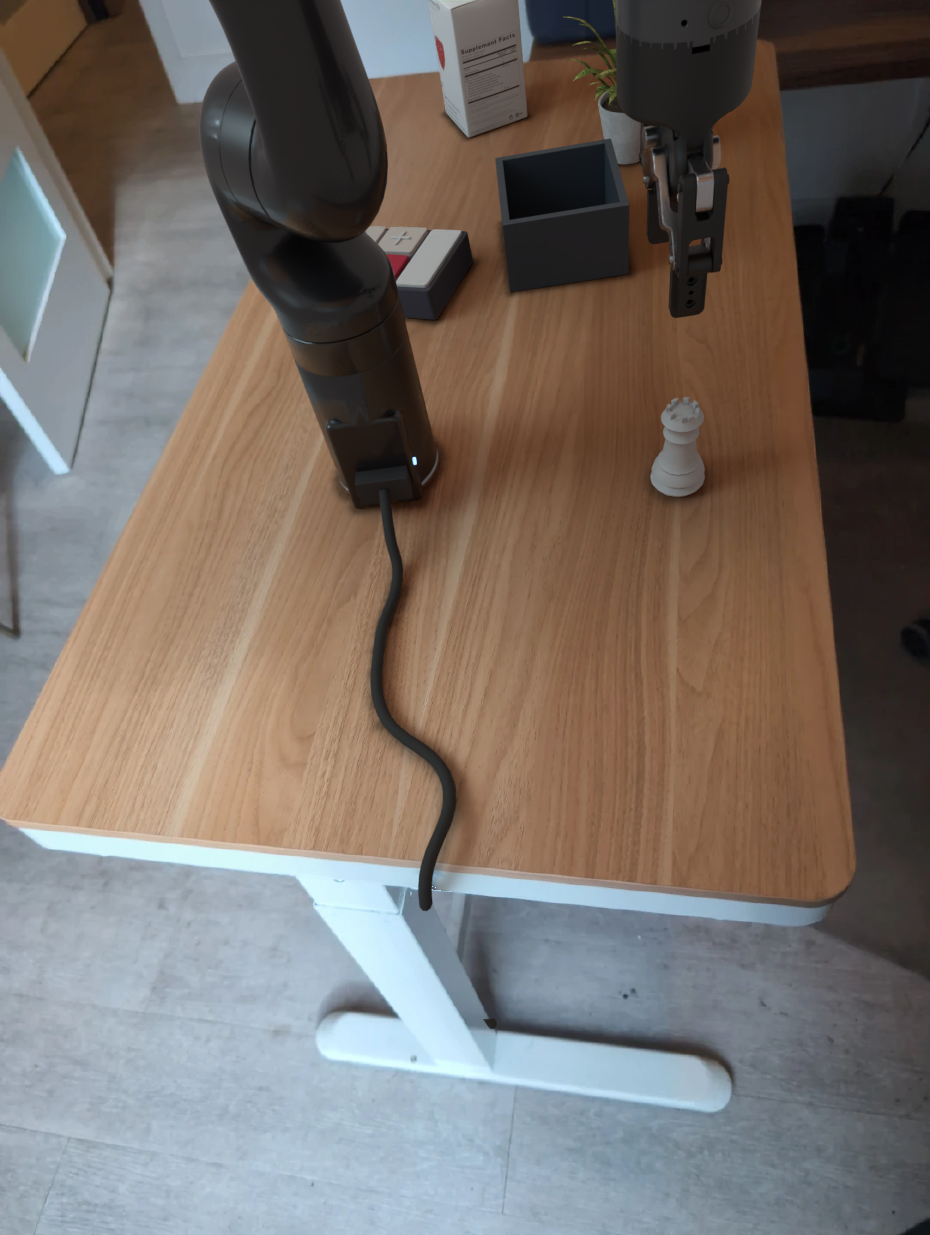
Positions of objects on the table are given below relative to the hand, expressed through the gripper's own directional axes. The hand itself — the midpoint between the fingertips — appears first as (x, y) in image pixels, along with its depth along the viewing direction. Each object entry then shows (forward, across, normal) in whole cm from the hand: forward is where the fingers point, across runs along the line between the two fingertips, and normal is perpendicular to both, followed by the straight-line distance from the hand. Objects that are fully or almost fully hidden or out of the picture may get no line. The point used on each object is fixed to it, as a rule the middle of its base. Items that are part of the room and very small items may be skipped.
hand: (673, 275), depth 57 cm
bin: (+18, -34, -5) cm, 39 cm away
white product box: (+19, -69, -12) cm, 72 cm away
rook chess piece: (+18, +2, +1) cm, 18 cm away
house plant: (+19, -53, +4) cm, 57 cm away
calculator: (+18, -33, -24) cm, 45 cm away
